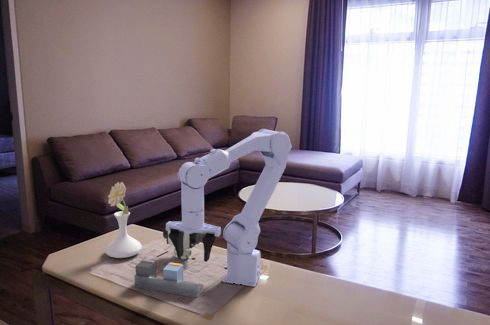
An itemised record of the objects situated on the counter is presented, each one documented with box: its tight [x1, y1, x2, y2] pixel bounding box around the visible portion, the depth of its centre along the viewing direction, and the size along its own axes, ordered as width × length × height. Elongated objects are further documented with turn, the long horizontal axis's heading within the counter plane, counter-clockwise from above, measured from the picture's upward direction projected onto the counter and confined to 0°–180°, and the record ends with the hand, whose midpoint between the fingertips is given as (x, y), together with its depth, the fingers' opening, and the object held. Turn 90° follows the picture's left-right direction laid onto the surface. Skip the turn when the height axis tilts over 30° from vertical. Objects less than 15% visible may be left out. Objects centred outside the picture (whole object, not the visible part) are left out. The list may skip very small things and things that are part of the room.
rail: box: [134, 258, 205, 298], centre depth 97 cm, size 18×5×6 cm, turn 76°
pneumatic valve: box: [162, 220, 203, 260], centre depth 115 cm, size 6×12×12 cm, turn 70°
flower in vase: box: [104, 181, 143, 259], centre depth 114 cm, size 13×11×25 cm
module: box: [162, 262, 184, 282], centre depth 97 cm, size 4×4×5 cm
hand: (193, 258), depth 94 cm, fingers open, 7 cm apart
